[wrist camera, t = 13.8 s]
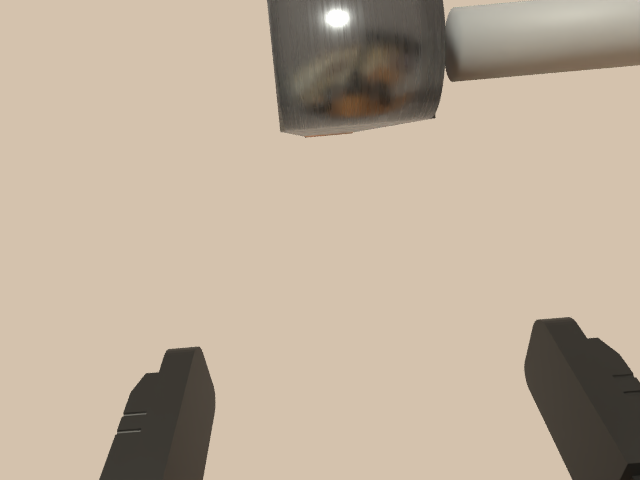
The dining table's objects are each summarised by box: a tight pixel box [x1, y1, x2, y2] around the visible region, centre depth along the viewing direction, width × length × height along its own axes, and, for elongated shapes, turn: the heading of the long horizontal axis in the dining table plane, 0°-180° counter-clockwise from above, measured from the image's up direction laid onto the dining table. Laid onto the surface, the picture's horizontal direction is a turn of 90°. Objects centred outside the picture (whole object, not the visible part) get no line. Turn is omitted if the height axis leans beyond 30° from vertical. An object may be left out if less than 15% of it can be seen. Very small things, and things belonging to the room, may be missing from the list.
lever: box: [267, 0, 446, 137], centre depth 18 cm, size 3×22×2 cm, turn 0°
